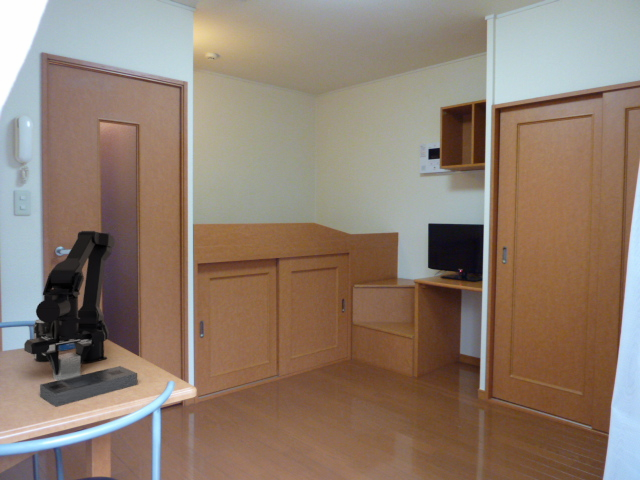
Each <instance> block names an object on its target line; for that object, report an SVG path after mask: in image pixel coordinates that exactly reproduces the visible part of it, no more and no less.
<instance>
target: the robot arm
mask: <svg viewBox="0 0 640 480" xmlns="http://www.w3.org/2000/svg"><path fill="white" fill-rule="evenodd" d="M114 237H115V236H113V235H111V233H110V232H99V231H95V230H81V231H78V233H77V238H76V240H75V242H74V243H73V245H72V247H71V249H70V251H69V252H68V254H67V255H66V258H65V259H64V260H63V261H60V262H58V263H56V264H55V265H54V267H53V268H52V269H51V270H50V272H49V273H48V276H47V279H46V283H45V285H44V289H43V292H42V296H43V298H44V300H42V301H41V302H39V304H38V305H37V307H36V308H35V314H36V316H37V319H40V320H41V321H43V322H45V323H40V324H39V335H40V336H41V335H47V338H54V339H51V340H46V339H44V338H35V339H34V338H30V339H26V341H25V342H24V344H23V346H24V348H23V349H24V350H23V351H25V352H26V353H28V354H31V355H34V354H39V353H43V354H45V355H46V356H47V358H48V360H49V361H48V362H49V364H50V366H51V368H52V372H53V371H54V374H55V375H58V370H59V355H60V354H59V355H58V351H57V350H55V346H59V345H64V344H70V343H74V344H75V348H74V349H75V354H77V355H80V367H81V366H82V364H88V363H93V362H98V361H103V360H107V356H105V341H107V340H108V339H109V334H110V330H109V328H108V326H107V324H106V321H105V315H104V313H103V311H102V309H101V308H100V306H101V297H102V288H103V279H104V270H105V264H106V261H107V259H109V257H110V256H111V255H112V251H113V247H114V246H115V238H114ZM87 260H88V261H87ZM86 263H87V268H86V275H84V272H83V268H84V266H85V264H86ZM84 276H85V277H84ZM84 281H85V283H84ZM83 283H84V292H83V296H82V297H83V298H82V306H80V308H79V296H80V295H81V293H80V291H81V288H82V285H83ZM51 322H52V324H50V325H49V324H48V323H51ZM70 339H74V340H70ZM59 341H63V342H59Z"/></svg>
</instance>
